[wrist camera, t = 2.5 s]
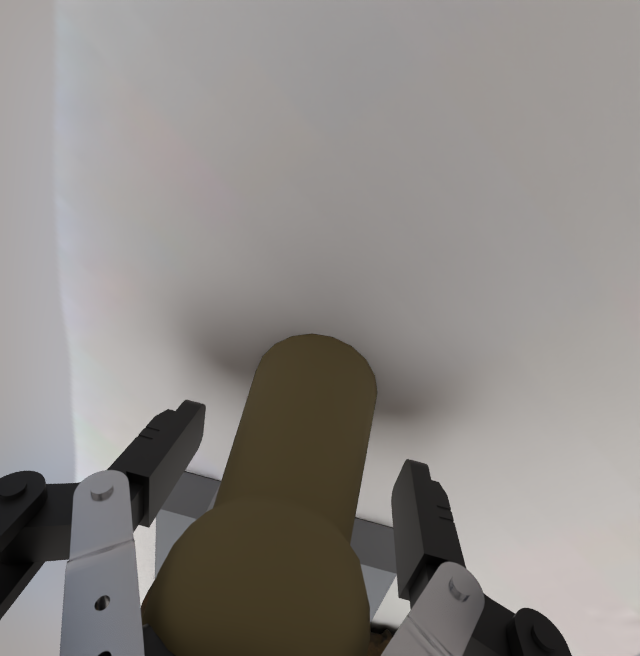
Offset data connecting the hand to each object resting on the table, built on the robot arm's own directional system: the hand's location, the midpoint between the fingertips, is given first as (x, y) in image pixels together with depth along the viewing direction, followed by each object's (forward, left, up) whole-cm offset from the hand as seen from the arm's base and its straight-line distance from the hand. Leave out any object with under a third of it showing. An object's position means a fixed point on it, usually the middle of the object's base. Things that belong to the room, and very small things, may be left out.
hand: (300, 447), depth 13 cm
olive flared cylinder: (0, 0, -4) cm, 4 cm away
